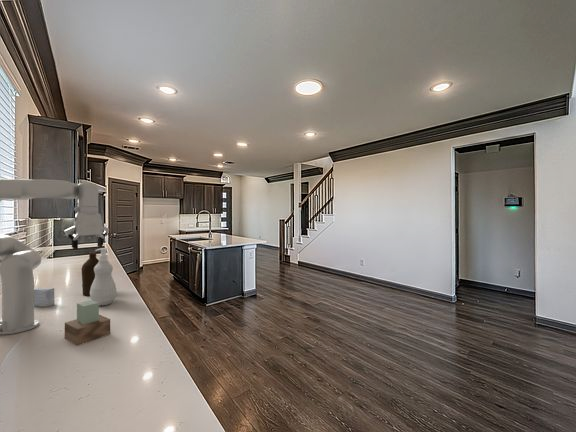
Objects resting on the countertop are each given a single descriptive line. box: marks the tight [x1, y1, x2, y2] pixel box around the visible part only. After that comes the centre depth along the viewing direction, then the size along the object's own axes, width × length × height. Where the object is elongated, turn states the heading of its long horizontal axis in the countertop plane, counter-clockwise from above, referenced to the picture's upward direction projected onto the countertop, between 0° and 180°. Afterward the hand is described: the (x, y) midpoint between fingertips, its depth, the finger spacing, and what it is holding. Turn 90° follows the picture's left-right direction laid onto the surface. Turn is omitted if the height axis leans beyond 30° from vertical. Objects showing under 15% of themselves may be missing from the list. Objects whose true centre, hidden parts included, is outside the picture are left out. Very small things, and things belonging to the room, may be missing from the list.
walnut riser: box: [64, 314, 111, 347], centre depth 105 cm, size 11×11×6 cm
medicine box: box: [34, 287, 55, 308], centre depth 139 cm, size 8×4×9 cm, turn 84°
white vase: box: [89, 247, 117, 307], centre depth 142 cm, size 17×12×29 cm
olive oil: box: [81, 251, 99, 297], centre depth 159 cm, size 11×11×25 cm
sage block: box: [76, 299, 100, 325], centre depth 105 cm, size 5×6×7 cm
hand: (88, 247), depth 122 cm, fingers open, 9 cm apart
